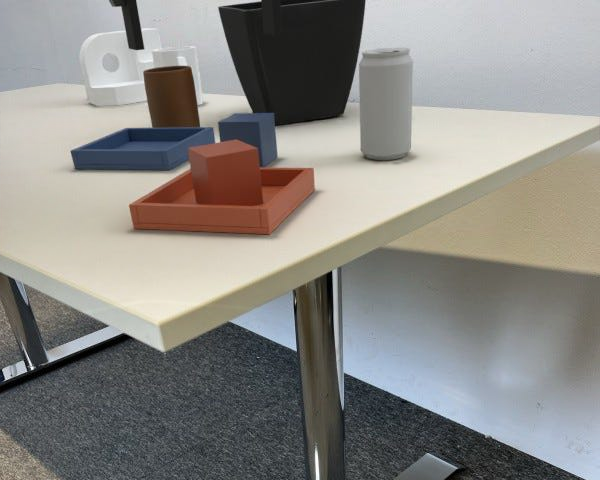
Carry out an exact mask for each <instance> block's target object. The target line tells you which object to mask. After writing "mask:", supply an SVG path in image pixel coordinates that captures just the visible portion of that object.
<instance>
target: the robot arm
mask: <svg viewBox="0 0 600 480" xmlns="http://www.w3.org/2000/svg"><path fill="white" fill-rule="evenodd" d="M260 1H261V2H262V15H263V28H264V34H267V35H282V21H281V5H280V0H260ZM108 2H109V3H110V5H111V7H113V8H117V7H118V8H119V7H121V13H122V19H123V24H124V29H125V30H126V36H127V41H128V47H129V49H133V50H144V43H143V37H142V31H141V29H142V26H141V20H140V14H139V8H138V1H137V0H108ZM125 30H124V31H125Z"/></svg>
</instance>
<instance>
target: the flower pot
mask: <svg viewBox="0 0 600 480" xmlns="http://www.w3.org/2000/svg"><path fill="white" fill-rule="evenodd" d="M366 2H367V1H366V0H280V5H281V21H282V35H267V34H264V28H263V15H262V2H261V0H259V1H253V2H245V3H243V2H242V3H235V4H227V5H219V6H218V7H217V8H218V13H219V18H220V22H221V25H222V26H221V27H222V29H223V33H224V38H225V41H226V44H227V47H228V51H229V54H230V58H231V60H232V64H233V66H234V69H235V72H236V75H237V78H238V80H239V83H240V86H241V88H242V91H243V93H244V96H245V98H246V101H247V103H248V106H249V107H250V111H251V113H274V119H275V126H279V125H284V124H285V125H286V124H292V123H299V122H306V121H312V120H317V119H318V120H319V119H324V118H330V117H331V118H332V117H337V116H341V115H342V116H343V115H344V113H345V112H346V111H345V110H346V108H347V104H348V101H349V98H350V95H351V90H352V87H353V82H354V78H355V73H356V69H357V64H358V60H359V55H360V49H361V43H362V36H363V29H364V28H363V27H364V22H365V21H364V20H365V11H366Z"/></svg>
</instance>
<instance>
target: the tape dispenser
mask: <svg viewBox="0 0 600 480" xmlns="http://www.w3.org/2000/svg"><path fill="white" fill-rule="evenodd" d="M141 31H142V37H143V43H144V50H133V49H129V47H128V41H127V36H126V30H117V31H109V32H108V31H107V32H99V33H94V34H92V35H90V36H89V37H87V38H86V39H85V40H84V41H83V43H82V45H81V47H80V48H79V56H78V61H79V67H80V72H81V76H82V79H83V84H84V89H85V93H86V98H87V101H88V103H89V104H91V105H94V106H96V107H111V106H123V105H131V104H137V103H142V102H147V96H146V91H145V85H144V75H143V71H145V70H148V69H152V68H155V67H154V61H153V55H152V51H153V50H155V49H161V48H163V46H162V40H161V35H160V28H156V27H155V28H154V27H153V28H152V27H145V28H141ZM107 54H108V55H109V56H110V57H111V59H112V66H111V68H110V69H108V70H106V69H105V68H104V66H103V58H104V57H105V56H106V55H107Z"/></svg>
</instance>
